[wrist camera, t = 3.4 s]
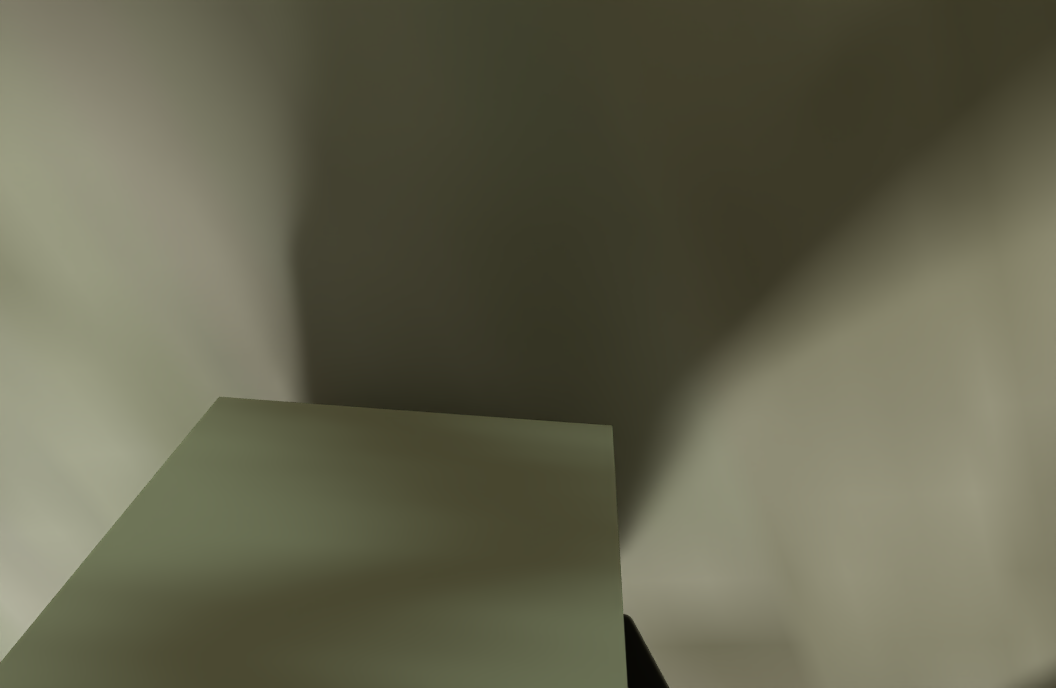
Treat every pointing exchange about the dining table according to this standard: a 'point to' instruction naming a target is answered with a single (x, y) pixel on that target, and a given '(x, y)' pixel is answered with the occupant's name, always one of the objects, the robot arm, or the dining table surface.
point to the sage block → (350, 559)
